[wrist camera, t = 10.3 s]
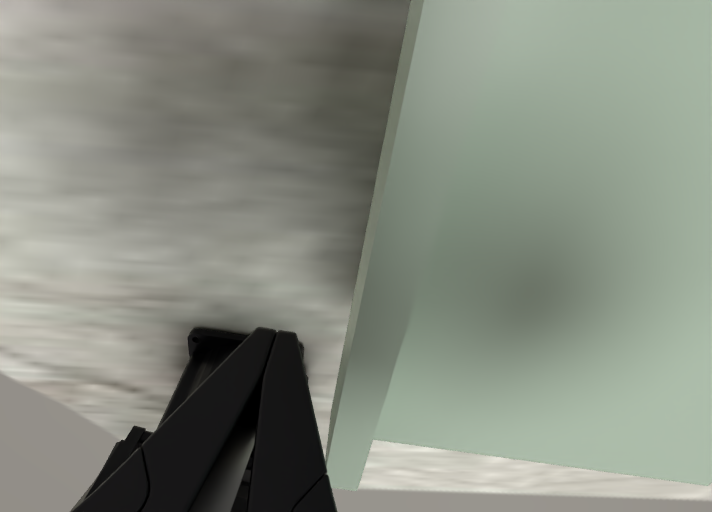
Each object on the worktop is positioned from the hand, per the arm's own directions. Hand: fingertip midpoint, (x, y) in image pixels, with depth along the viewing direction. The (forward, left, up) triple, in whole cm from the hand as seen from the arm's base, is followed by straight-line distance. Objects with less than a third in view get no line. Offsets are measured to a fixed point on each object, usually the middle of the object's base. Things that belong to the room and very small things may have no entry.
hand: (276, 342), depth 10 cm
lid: (+9, 0, -4) cm, 10 cm away
